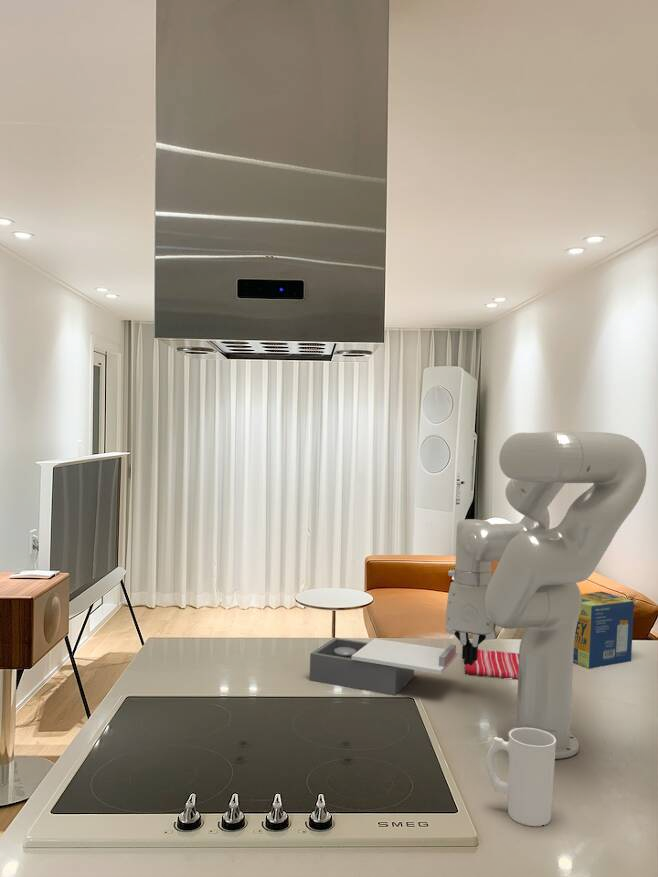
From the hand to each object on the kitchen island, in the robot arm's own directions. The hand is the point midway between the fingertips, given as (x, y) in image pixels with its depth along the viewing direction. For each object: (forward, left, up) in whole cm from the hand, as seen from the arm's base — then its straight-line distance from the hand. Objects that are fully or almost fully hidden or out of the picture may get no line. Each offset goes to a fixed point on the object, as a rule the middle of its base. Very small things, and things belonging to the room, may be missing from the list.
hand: (469, 662), depth 163 cm
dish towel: (+24, -5, -8) cm, 26 cm away
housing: (0, +24, -7) cm, 25 cm away
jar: (0, +29, -7) cm, 29 cm away
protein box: (+41, -23, -8) cm, 47 cm away
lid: (0, +14, -1) cm, 14 cm away
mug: (-45, -18, -7) cm, 49 cm away
